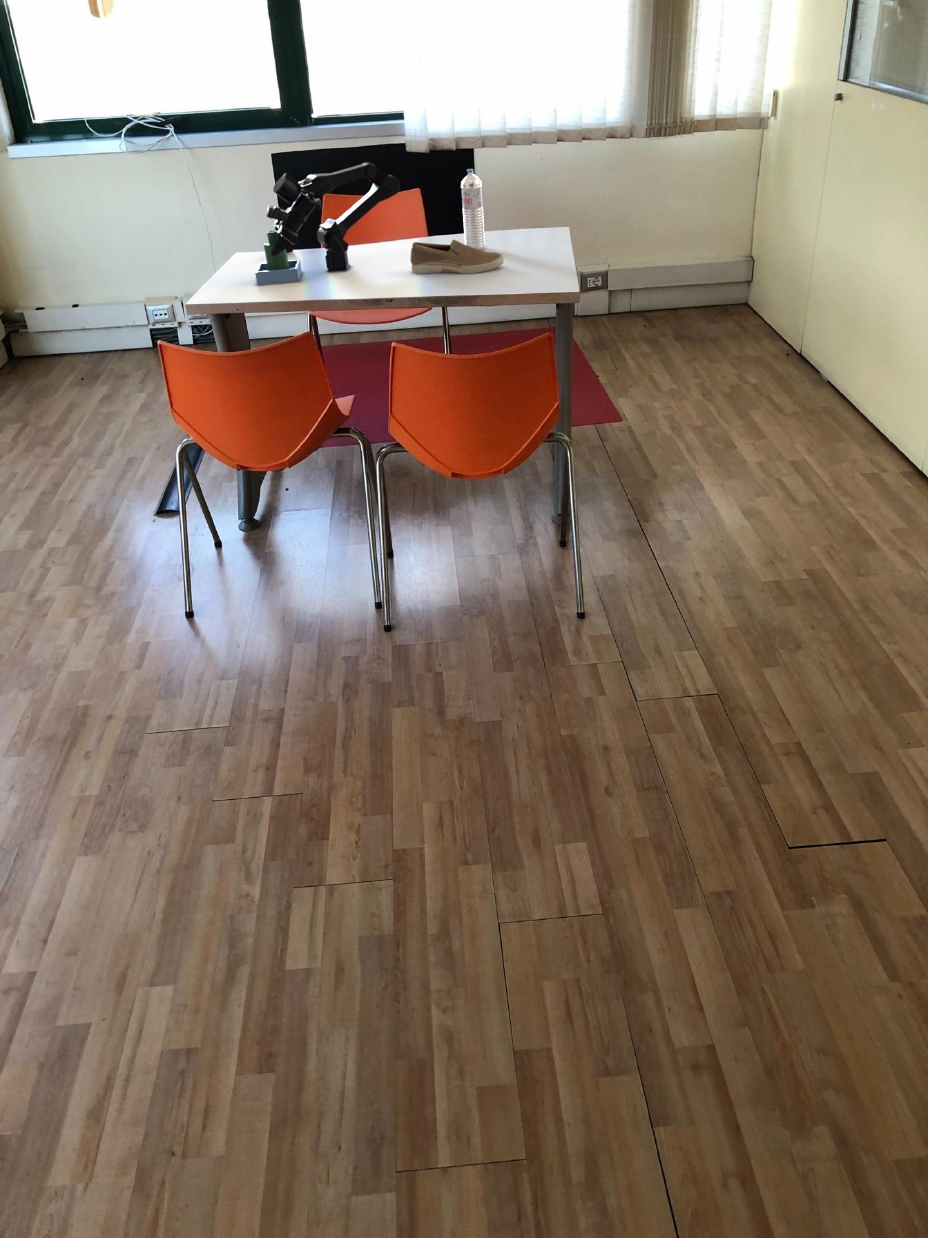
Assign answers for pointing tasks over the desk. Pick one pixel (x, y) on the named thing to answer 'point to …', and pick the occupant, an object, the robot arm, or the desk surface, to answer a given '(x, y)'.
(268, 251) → the bottle
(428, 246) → the slip on shoe
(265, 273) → the tote
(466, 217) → the water bottle
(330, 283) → the desk surface
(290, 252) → the tape measure
